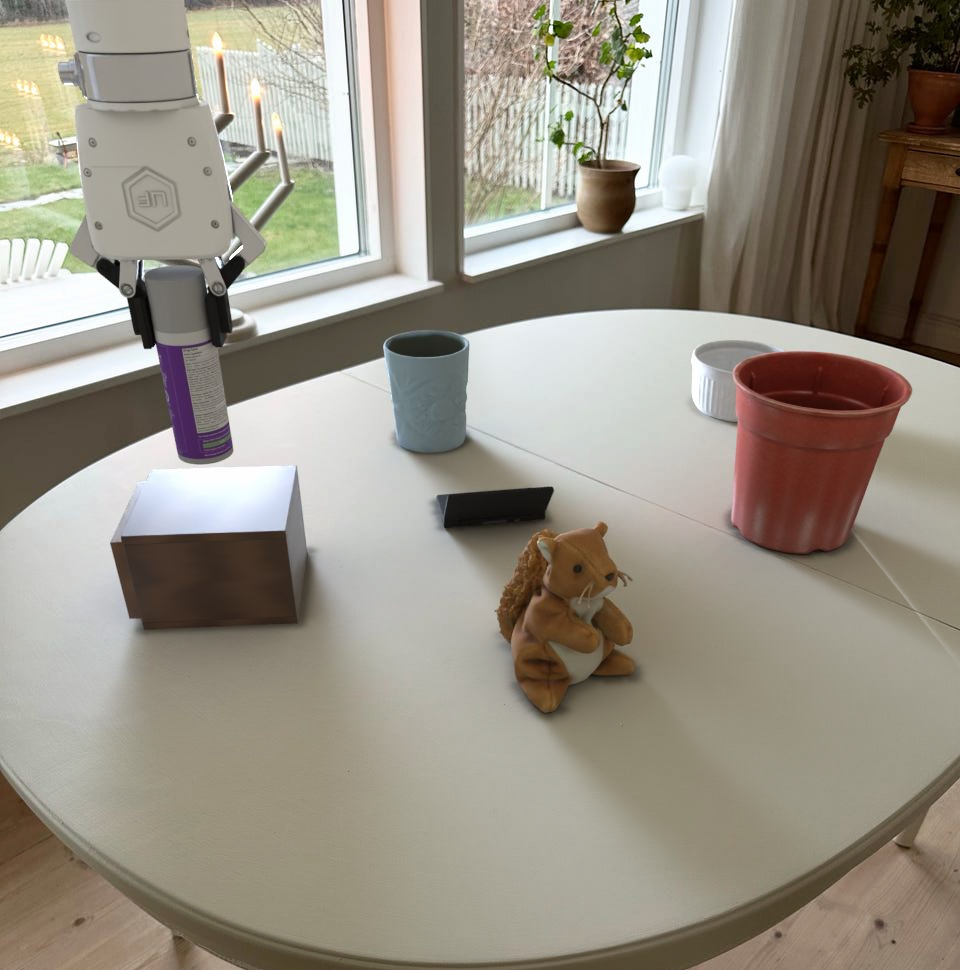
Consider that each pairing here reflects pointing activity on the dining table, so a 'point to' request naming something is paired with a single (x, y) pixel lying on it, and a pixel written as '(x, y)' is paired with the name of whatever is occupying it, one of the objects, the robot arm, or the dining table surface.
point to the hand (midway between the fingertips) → (186, 340)
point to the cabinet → (217, 547)
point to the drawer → (121, 558)
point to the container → (189, 364)
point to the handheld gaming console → (494, 506)
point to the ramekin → (721, 374)
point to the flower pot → (808, 444)
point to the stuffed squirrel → (564, 614)
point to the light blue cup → (428, 388)
